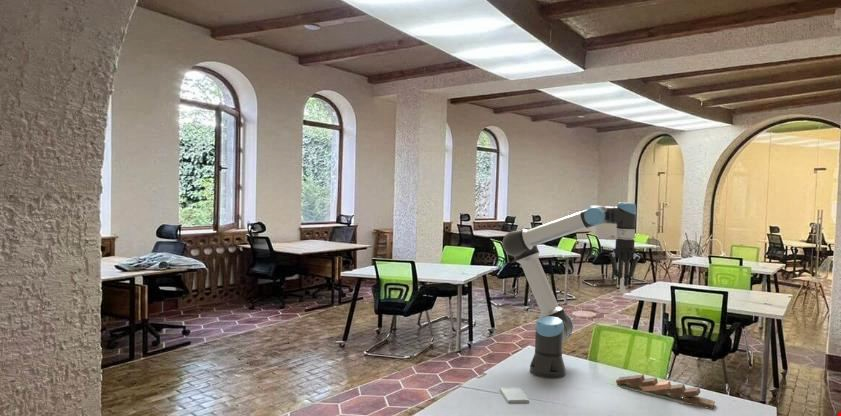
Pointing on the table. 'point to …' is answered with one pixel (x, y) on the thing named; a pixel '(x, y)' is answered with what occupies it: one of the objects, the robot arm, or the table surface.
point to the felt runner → (645, 391)
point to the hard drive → (514, 395)
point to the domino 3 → (657, 386)
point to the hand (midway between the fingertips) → (622, 293)
